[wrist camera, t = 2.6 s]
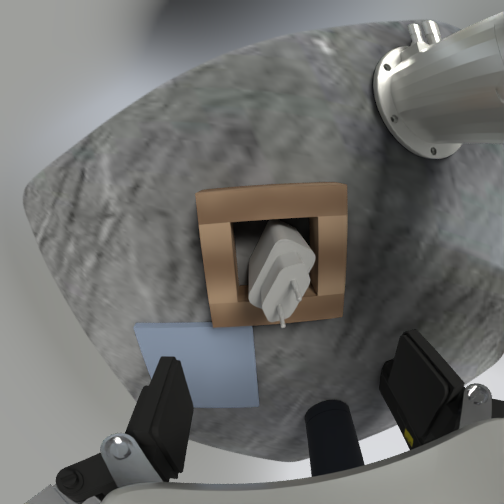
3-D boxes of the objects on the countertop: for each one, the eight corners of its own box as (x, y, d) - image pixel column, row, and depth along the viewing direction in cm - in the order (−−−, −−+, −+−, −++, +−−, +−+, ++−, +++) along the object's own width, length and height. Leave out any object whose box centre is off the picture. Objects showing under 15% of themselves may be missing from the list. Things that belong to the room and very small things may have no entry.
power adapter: (300, 230, 25) (340, 282, 14) (275, 279, 27) (292, 358, 15) (270, 215, 25) (289, 258, 14) (245, 267, 26) (243, 341, 15)
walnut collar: (202, 189, 24) (195, 193, 21) (334, 182, 24) (347, 184, 21) (216, 309, 28) (213, 327, 24) (332, 300, 28) (342, 317, 24)
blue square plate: (136, 322, 28) (133, 327, 27) (252, 319, 28) (252, 324, 27) (163, 400, 32) (162, 405, 31) (259, 401, 32) (259, 406, 31)
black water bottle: (342, 393, 32) (387, 598, 3) (353, 417, 33) (392, 591, 4) (298, 409, 33) (311, 612, 4) (313, 431, 34) (329, 605, 5)
